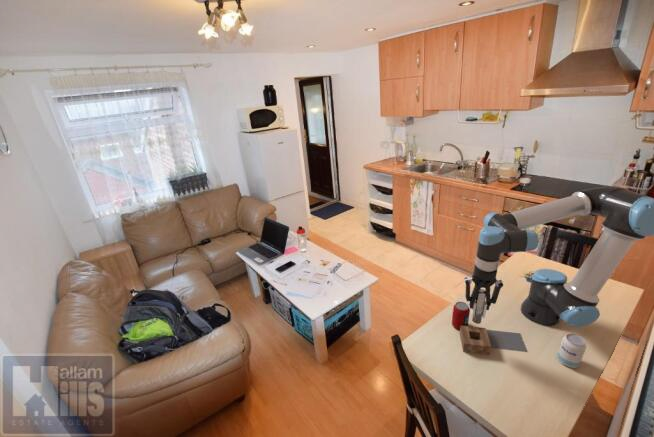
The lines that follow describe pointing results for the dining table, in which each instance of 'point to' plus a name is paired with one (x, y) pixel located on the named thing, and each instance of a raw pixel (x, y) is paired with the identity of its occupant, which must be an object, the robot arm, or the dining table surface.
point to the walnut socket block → (475, 340)
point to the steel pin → (479, 306)
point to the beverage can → (460, 315)
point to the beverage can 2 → (571, 350)
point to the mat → (506, 340)
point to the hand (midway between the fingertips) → (477, 314)
